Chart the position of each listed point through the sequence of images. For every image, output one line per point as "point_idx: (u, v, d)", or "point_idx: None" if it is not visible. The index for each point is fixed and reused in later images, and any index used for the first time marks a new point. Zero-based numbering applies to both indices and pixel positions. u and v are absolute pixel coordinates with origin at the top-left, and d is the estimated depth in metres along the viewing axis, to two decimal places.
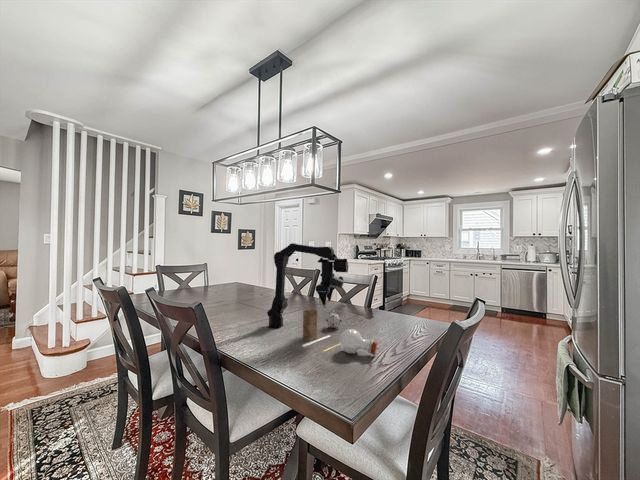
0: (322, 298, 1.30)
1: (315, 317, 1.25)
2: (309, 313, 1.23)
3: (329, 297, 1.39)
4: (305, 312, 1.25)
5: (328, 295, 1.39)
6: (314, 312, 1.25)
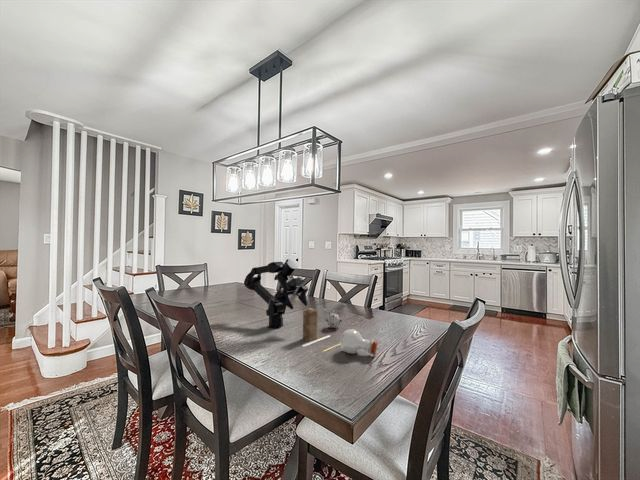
0: (287, 304, 1.28)
1: (315, 317, 1.25)
2: (309, 313, 1.23)
3: (304, 302, 1.35)
4: (305, 312, 1.25)
5: (303, 301, 1.36)
6: (314, 312, 1.25)
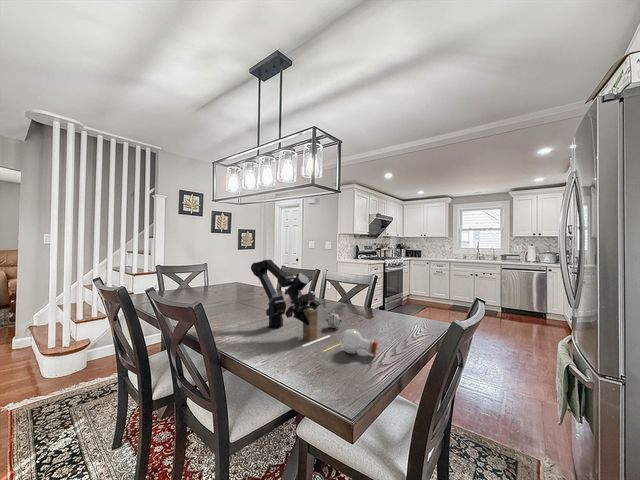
0: (302, 320, 1.24)
1: (315, 317, 1.25)
2: (309, 313, 1.23)
3: None
4: (305, 312, 1.25)
5: None
6: (314, 312, 1.25)
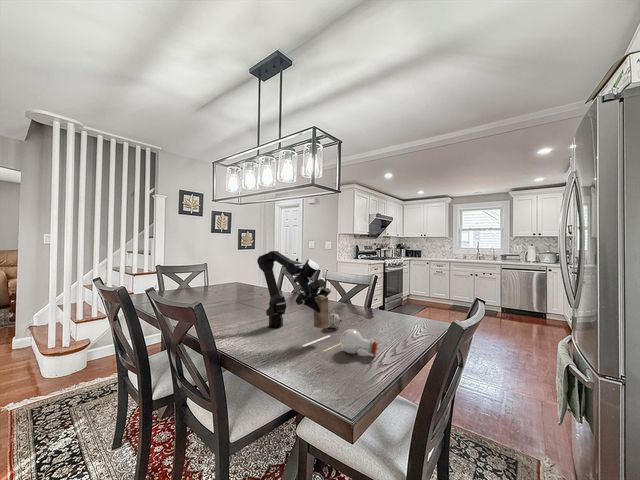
0: (313, 307, 1.20)
1: (326, 304, 1.21)
2: (320, 300, 1.19)
3: None
4: (316, 299, 1.20)
5: None
6: (325, 299, 1.20)
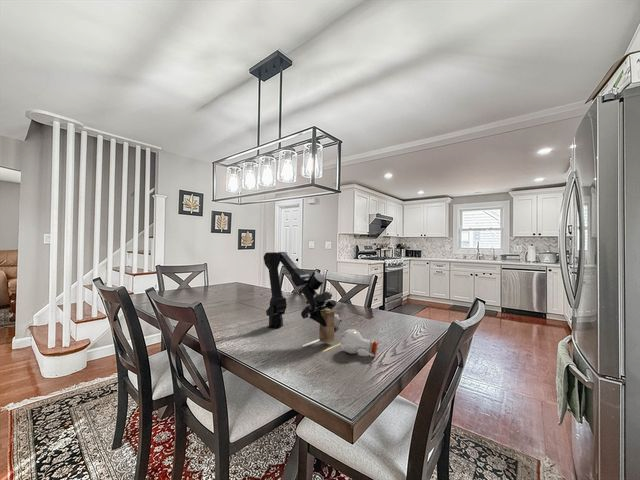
0: (319, 321, 1.17)
1: (332, 318, 1.18)
2: (326, 314, 1.16)
3: None
4: (322, 313, 1.18)
5: None
6: (331, 313, 1.18)
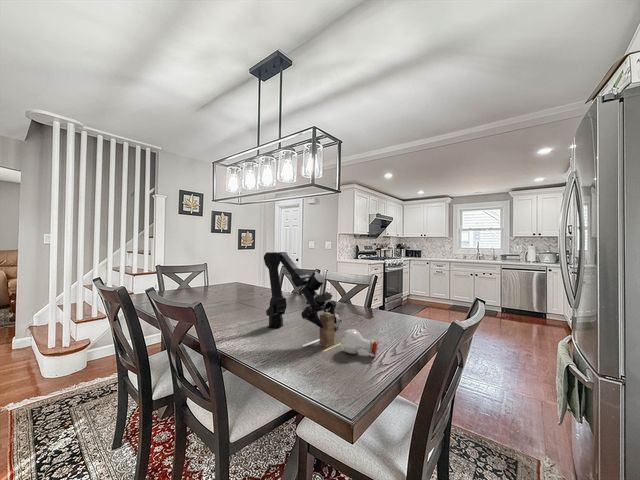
0: (316, 322, 1.16)
1: (332, 322, 1.18)
2: (326, 318, 1.16)
3: None
4: (322, 316, 1.18)
5: None
6: (331, 316, 1.18)
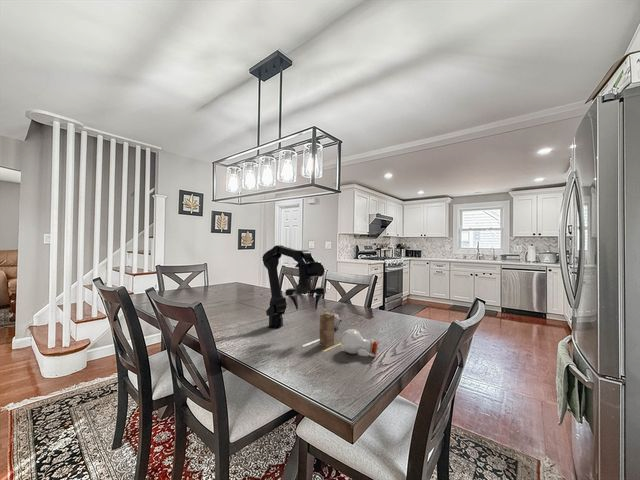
0: None
1: (332, 322, 1.18)
2: (326, 318, 1.16)
3: None
4: (322, 316, 1.18)
5: None
6: (331, 316, 1.18)
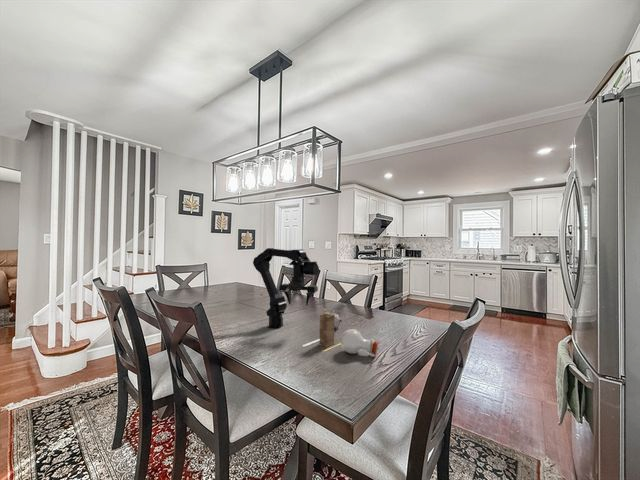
0: None
1: (332, 322, 1.18)
2: (326, 318, 1.16)
3: None
4: (322, 316, 1.18)
5: None
6: (331, 316, 1.18)
